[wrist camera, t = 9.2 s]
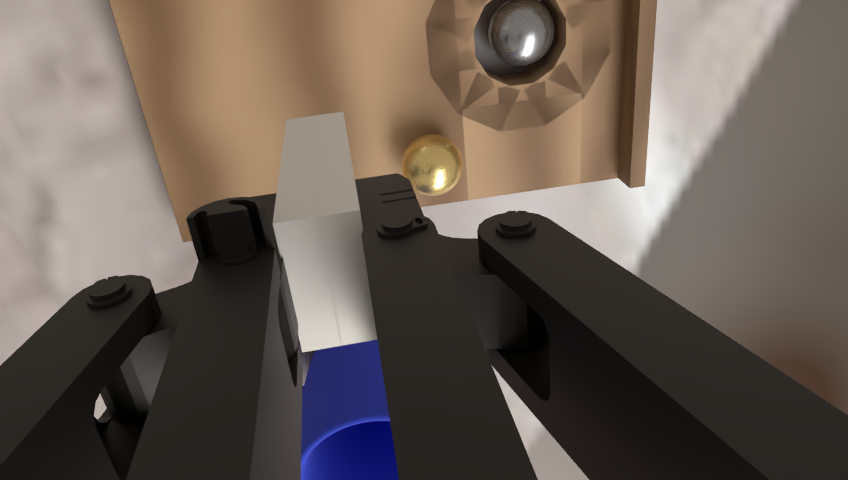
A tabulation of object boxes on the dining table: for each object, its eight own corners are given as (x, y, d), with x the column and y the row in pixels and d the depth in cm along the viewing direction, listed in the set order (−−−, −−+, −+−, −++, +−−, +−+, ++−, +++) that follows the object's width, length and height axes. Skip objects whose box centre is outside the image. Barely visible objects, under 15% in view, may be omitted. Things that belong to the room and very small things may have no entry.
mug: (222, 324, 38) (191, 447, 29) (421, 294, 39) (450, 403, 30) (251, 427, 42) (232, 564, 33) (433, 397, 43) (461, 521, 34)
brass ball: (401, 186, 33) (408, 209, 30) (395, 130, 31) (401, 149, 29) (458, 178, 33) (470, 200, 30) (454, 122, 32) (466, 140, 29)
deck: (192, 221, 35) (177, 255, 31) (94, -111, 27) (59, -116, 24) (613, 160, 37) (644, 185, 33) (627, -166, 29) (669, -178, 26)
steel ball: (542, 73, 30) (563, 57, 32) (540, 1, 28) (562, -9, 31) (479, 72, 31) (504, 57, 34) (475, 4, 30) (501, -7, 32)
